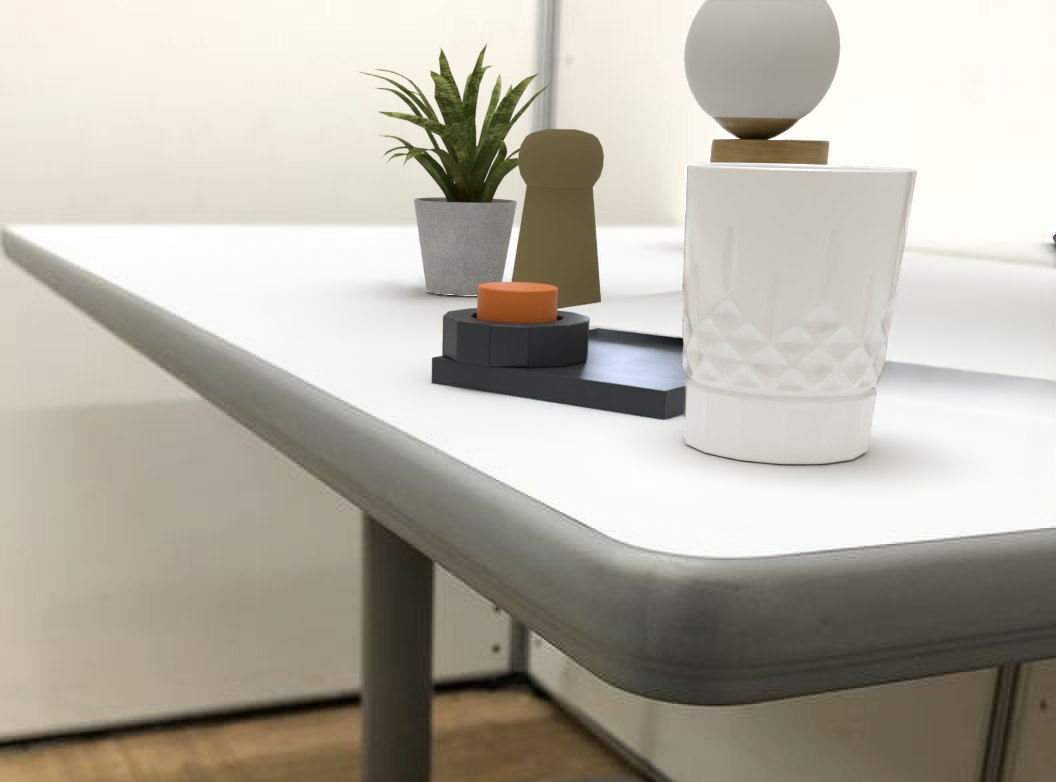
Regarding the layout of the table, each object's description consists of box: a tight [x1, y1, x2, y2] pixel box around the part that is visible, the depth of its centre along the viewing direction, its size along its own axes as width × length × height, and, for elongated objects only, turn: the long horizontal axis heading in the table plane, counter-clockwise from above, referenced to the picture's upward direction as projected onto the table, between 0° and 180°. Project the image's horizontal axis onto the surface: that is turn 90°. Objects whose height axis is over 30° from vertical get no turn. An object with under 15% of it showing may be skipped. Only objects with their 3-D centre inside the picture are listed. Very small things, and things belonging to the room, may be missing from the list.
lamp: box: [683, 0, 841, 165], centre depth 133 cm, size 15×14×25 cm
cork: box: [510, 128, 605, 310], centre depth 86 cm, size 6×6×11 cm
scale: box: [431, 307, 687, 421], centre depth 65 cm, size 14×13×3 cm
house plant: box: [355, 42, 551, 295], centre depth 97 cm, size 14×14×16 cm
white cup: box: [681, 162, 918, 465], centre depth 51 cm, size 8×8×10 cm
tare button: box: [476, 281, 558, 323], centre depth 63 cm, size 4×4×2 cm
